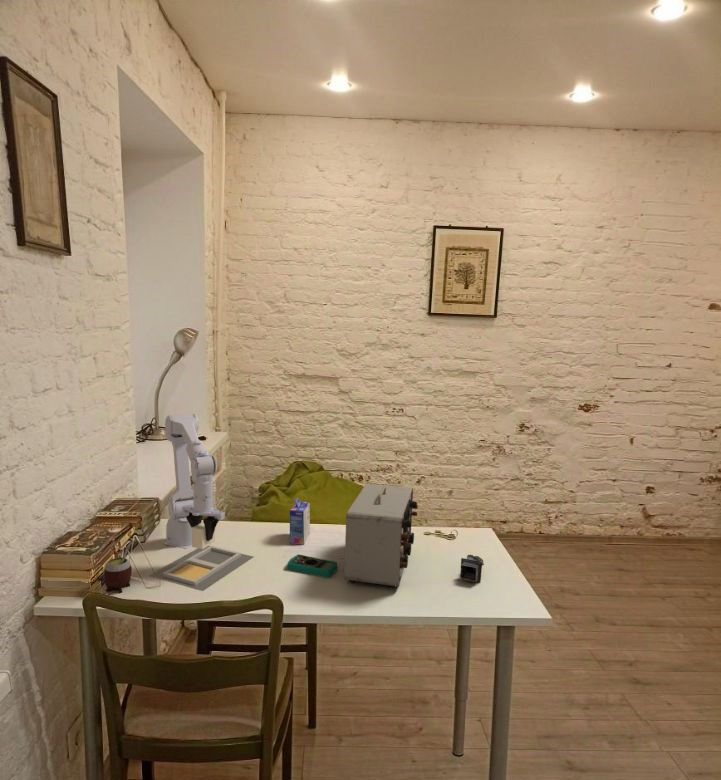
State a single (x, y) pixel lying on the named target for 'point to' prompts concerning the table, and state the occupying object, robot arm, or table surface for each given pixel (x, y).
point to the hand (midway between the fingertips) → (203, 538)
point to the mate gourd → (118, 572)
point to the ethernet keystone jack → (471, 568)
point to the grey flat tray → (202, 567)
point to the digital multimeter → (312, 565)
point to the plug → (200, 536)
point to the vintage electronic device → (379, 534)
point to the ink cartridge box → (299, 522)
